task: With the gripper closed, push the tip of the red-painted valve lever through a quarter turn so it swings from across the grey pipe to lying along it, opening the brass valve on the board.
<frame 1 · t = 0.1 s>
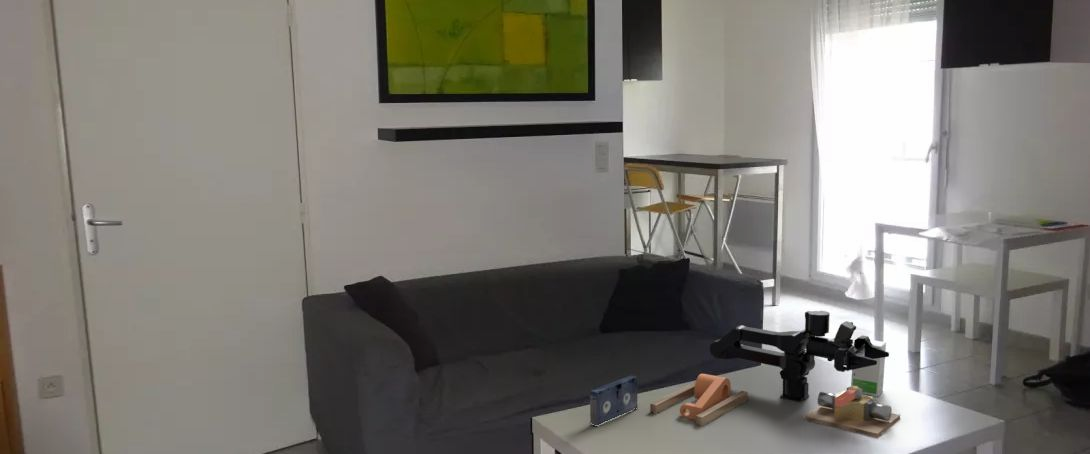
hand: (882, 358, 226), 17 cm above the table, tool horizontal, fingers open, 9 cm apart
vhs cassette tape: (614, 418, 232), on the table
lever: (847, 396, 223), point 8 cm above the table, hinge at 0.0°
skincare box: (867, 392, 249), on the table
pair of wooden rails: (699, 406, 239), on the table
crank: (703, 408, 238), on the table
valve: (853, 418, 228), resting on board
board: (852, 419, 227), on the table
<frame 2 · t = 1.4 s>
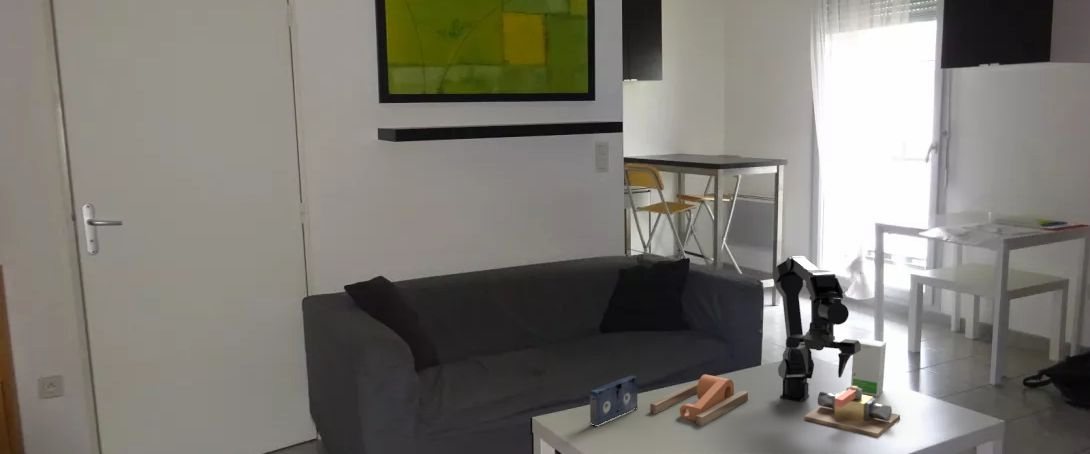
hand: (822, 375, 223), 13 cm above the table, tool pointing down, fingers open, 9 cm apart
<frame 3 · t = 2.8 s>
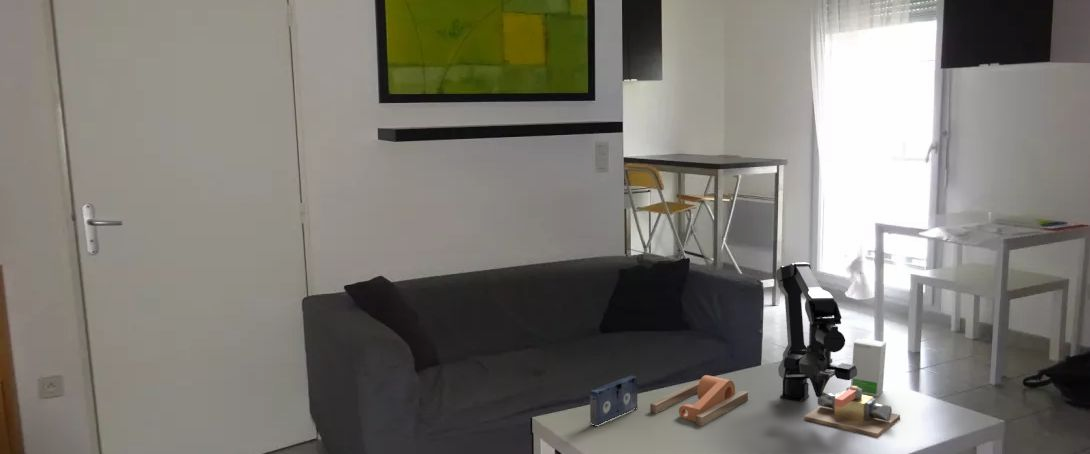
hand: (818, 396, 225), 7 cm above the table, tool pointing down, fingers closed
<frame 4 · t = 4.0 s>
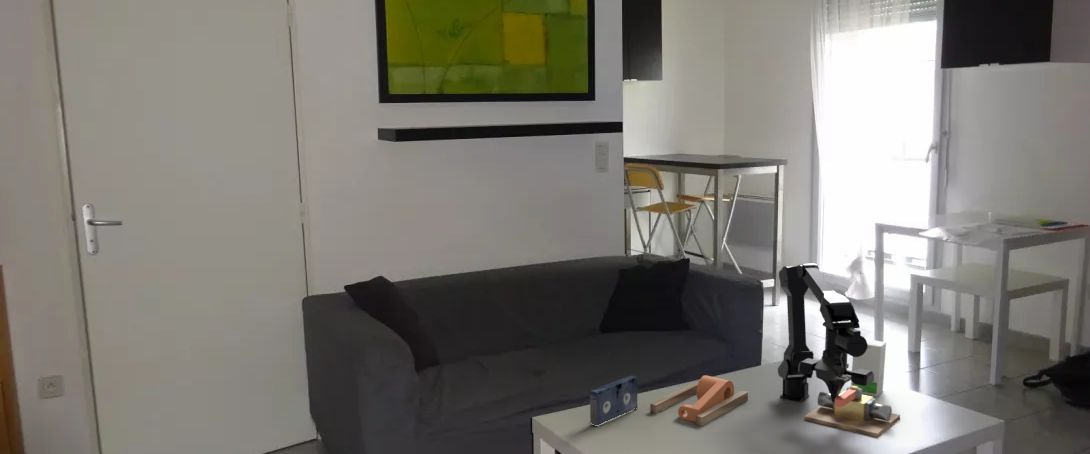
hand: (834, 402, 222), 7 cm above the table, tool pointing down, fingers closed
lever: (847, 396, 223), point 8 cm above the table, hinge at 0.1°, touching gripper
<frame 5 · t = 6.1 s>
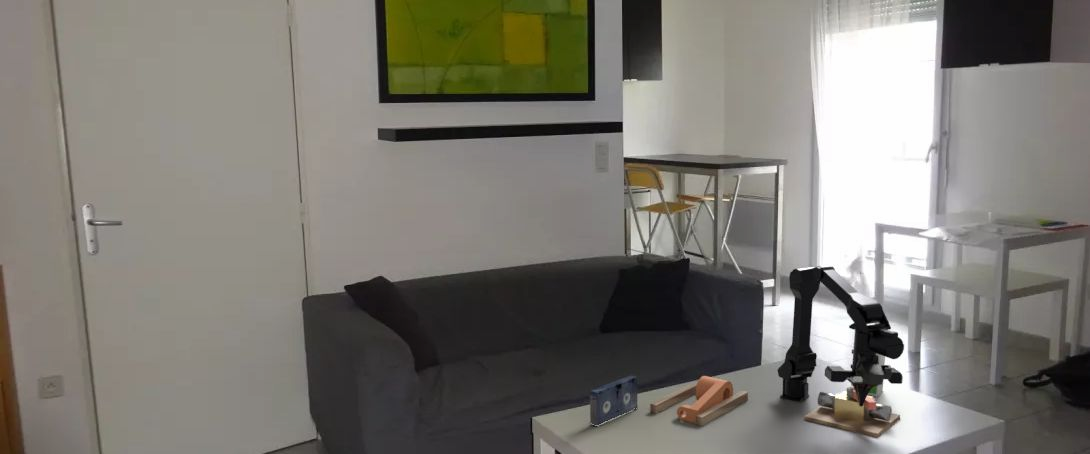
hand: (860, 406, 218), 7 cm above the table, tool pointing down, fingers closed
lever: (861, 397, 222), point 8 cm above the table, hinge at 45.2°, touching gripper
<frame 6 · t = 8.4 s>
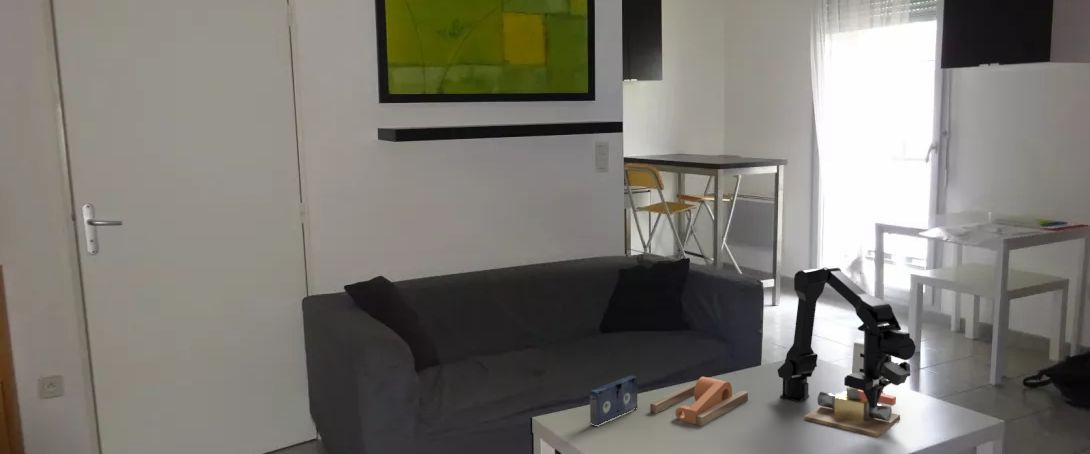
hand: (873, 407, 217), 7 cm above the table, tool pointing down, fingers closed
lever: (870, 395, 223), point 8 cm above the table, hinge at 86.2°
crank: (702, 412, 236), on the table, touching pair of wooden rails
everything else where it was.
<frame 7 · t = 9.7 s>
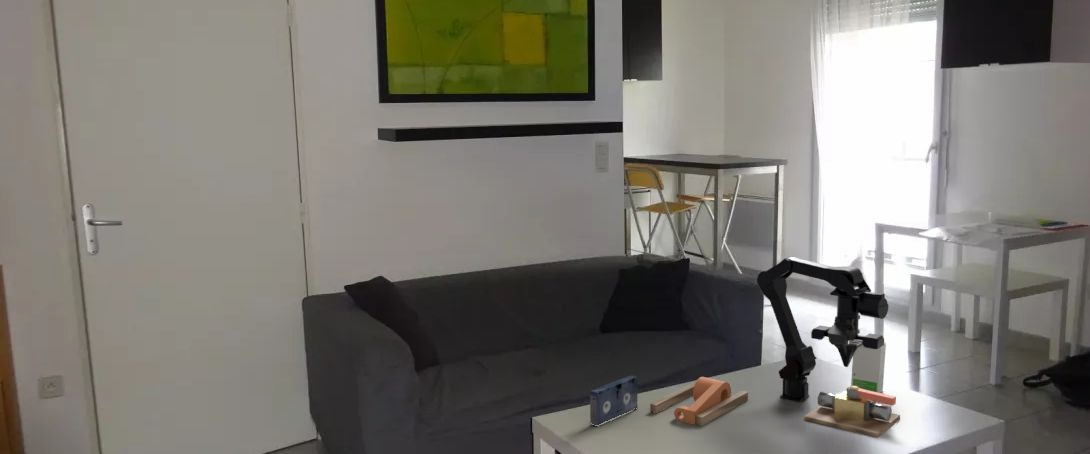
hand: (846, 366, 231), 13 cm above the table, tool pointing down, fingers closed
crank: (701, 412, 235), on the table
everything else where it was.
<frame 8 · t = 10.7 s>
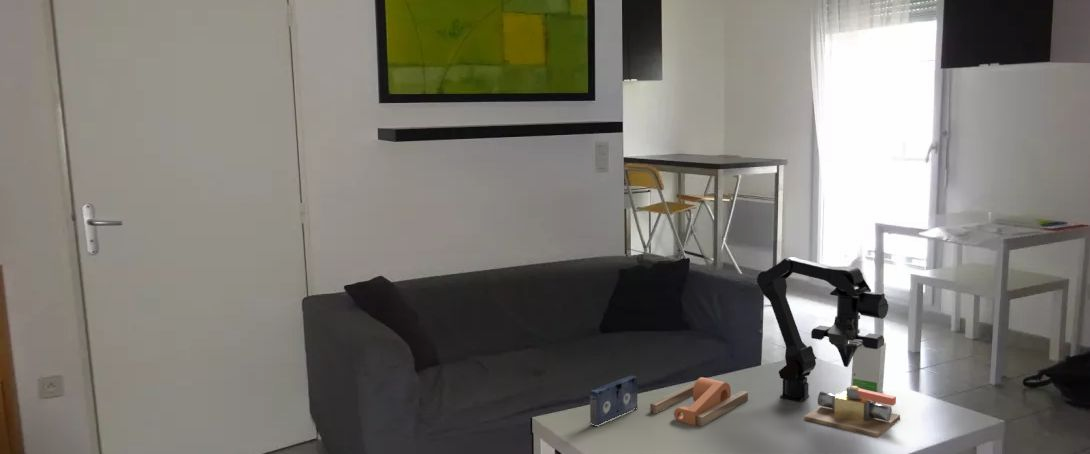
hand: (846, 366, 231), 13 cm above the table, tool pointing down, fingers closed
at the end: lever at +86° (first picture: +0°) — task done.
